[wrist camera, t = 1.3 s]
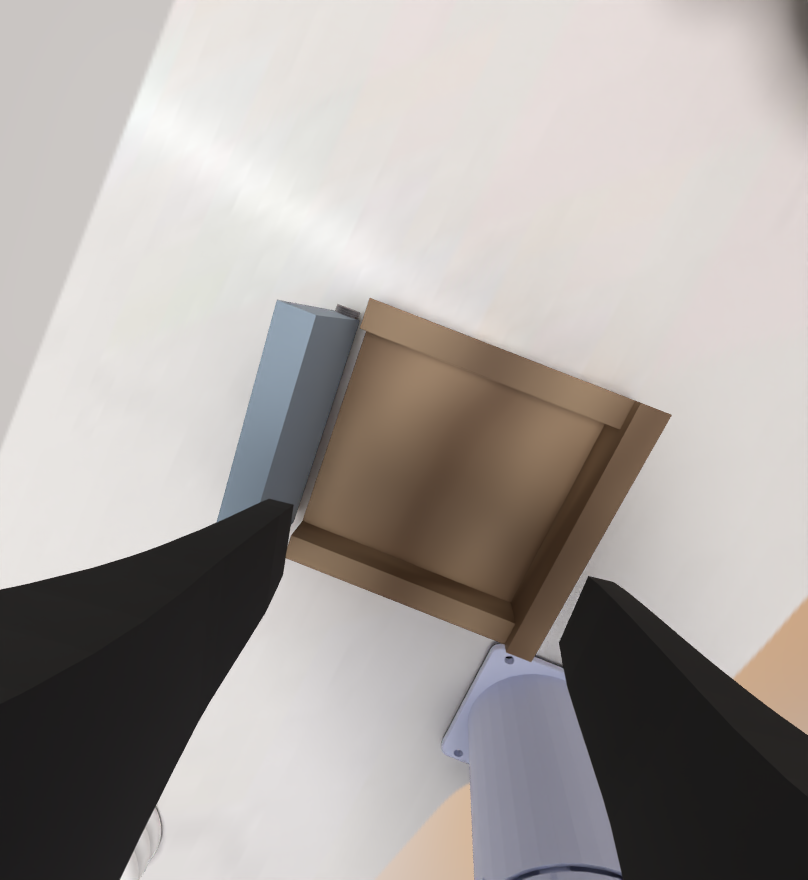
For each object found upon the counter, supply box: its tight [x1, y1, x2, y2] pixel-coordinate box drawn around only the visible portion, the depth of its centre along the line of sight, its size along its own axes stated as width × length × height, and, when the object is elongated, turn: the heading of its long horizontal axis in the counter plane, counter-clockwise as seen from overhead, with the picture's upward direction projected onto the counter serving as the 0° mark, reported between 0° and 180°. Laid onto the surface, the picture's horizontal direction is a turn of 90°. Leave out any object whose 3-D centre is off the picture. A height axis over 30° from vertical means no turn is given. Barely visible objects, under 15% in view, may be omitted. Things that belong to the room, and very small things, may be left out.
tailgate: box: [217, 300, 360, 524], centre depth 16 cm, size 1×11×6 cm, turn 159°
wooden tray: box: [286, 298, 671, 662], centre depth 19 cm, size 12×12×4 cm
